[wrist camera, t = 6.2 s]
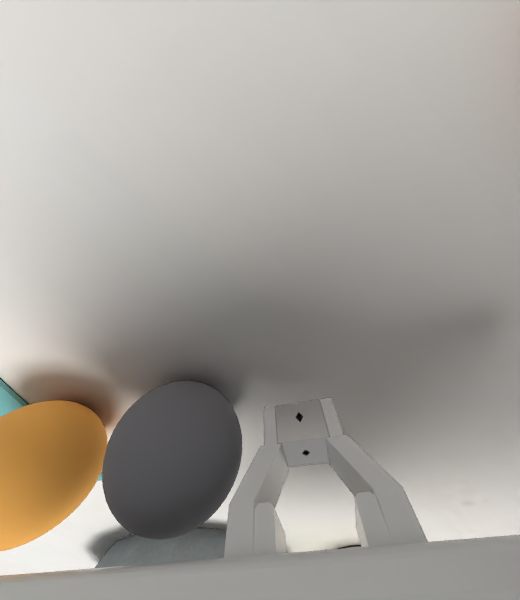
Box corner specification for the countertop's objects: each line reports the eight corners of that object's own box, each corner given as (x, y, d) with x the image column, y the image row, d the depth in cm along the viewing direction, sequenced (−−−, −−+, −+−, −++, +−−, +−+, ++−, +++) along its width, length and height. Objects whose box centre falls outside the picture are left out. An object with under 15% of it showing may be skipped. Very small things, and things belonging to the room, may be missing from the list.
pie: (319, 571, 28) (330, 643, 24) (175, 590, 33) (162, 654, 28) (236, 498, 19) (229, 596, 14) (49, 540, 23) (1, 624, 19)
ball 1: (62, 372, 10) (-160, 517, 6) (143, 456, 11) (-6, 627, 7) (58, 380, 14) (-82, 473, 10) (119, 442, 15) (12, 549, 11)
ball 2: (62, 499, 6) (122, 356, 10) (83, 592, 8) (124, 437, 12) (270, 464, 7) (239, 356, 12) (241, 548, 9) (224, 427, 14)
